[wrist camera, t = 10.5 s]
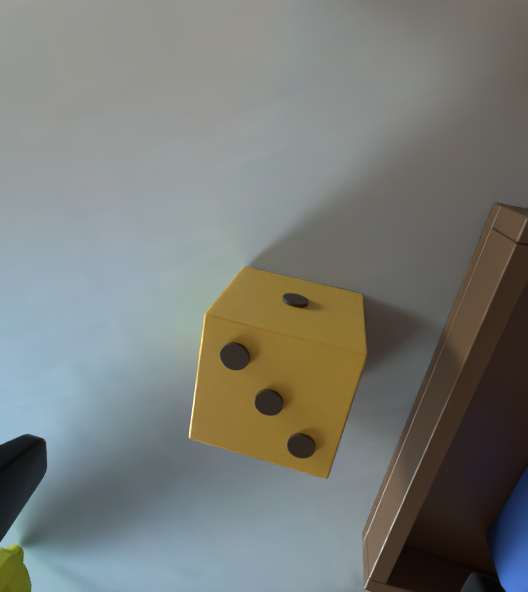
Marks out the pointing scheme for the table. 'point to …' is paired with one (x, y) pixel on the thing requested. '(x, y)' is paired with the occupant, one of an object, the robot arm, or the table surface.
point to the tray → (460, 429)
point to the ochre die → (279, 370)
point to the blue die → (512, 539)
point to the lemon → (13, 570)
